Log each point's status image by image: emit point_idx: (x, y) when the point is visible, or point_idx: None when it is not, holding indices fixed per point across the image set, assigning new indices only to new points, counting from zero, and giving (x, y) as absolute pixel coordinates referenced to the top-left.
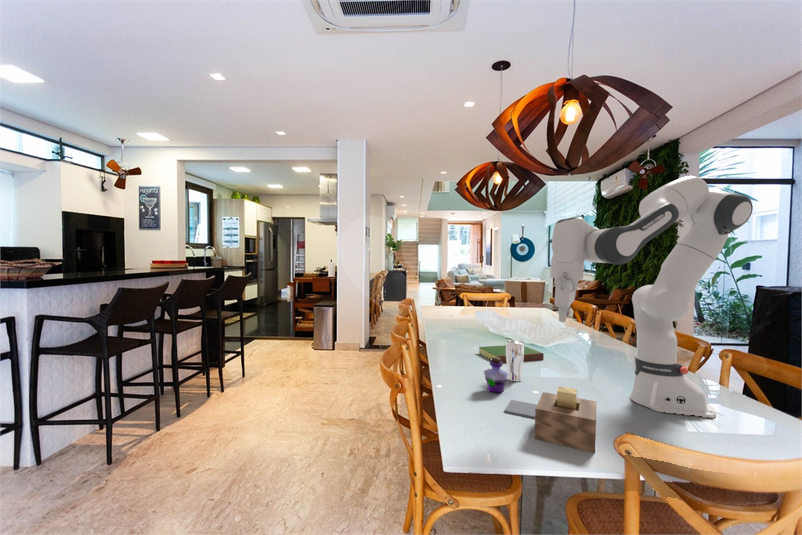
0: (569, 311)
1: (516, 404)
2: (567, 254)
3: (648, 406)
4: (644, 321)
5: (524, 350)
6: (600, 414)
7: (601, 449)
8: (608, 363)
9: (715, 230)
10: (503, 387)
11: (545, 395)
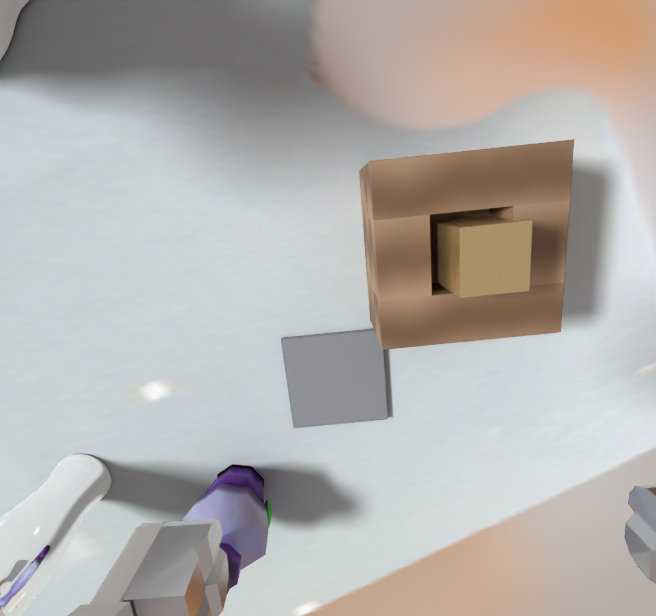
0: (108, 611)
1: (322, 405)
2: None
3: (16, 10)
4: None
5: None
6: (218, 173)
7: (486, 140)
8: None
9: None
10: (234, 476)
11: (414, 334)
